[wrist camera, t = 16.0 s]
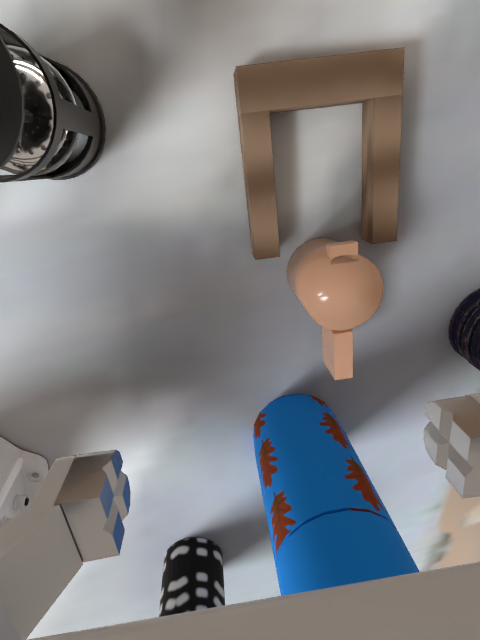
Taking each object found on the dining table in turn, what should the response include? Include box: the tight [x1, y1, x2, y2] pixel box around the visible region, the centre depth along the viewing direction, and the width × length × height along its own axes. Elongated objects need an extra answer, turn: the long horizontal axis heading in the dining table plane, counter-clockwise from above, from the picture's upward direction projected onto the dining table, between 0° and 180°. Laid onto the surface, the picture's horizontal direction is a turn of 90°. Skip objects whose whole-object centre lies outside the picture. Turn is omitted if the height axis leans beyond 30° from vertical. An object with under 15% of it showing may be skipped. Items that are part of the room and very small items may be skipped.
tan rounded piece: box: [287, 238, 383, 380], centre depth 38 cm, size 13×7×8 cm, turn 7°
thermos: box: [253, 394, 419, 596], centre depth 37 cm, size 11×11×25 cm
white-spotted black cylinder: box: [159, 538, 225, 617], centre depth 46 cm, size 8×8×20 cm
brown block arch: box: [234, 47, 404, 260], centre depth 36 cm, size 16×14×3 cm
